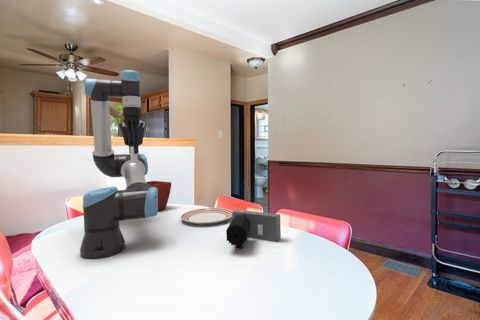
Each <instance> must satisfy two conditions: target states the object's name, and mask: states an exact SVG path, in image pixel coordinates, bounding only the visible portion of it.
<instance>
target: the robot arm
mask: <svg viewBox="0 0 480 320" xmlns="http://www.w3.org/2000/svg"><path fill="white" fill-rule="evenodd" d="M83 87H84V94H85V96H87V97H90V108H91V120H92V132H93V133H92V135H93V147H94V150H93V151H92V159H93V162H94V165H95V166H96V168H97V169H98V170H99V171H100V172H101V173H102V174H103V175H105V176H107V177H109V178H123V179H125V181H124V182H125V186H126V188H125V189H119V188H118V187H117V186H109V187H108V186H107V187H101V188H98V189H94V190H91V191H88V192H86V193H84V194H83V198H82V210H83V226H84V227H83V228H84V234H83V238H82V240H81V241H82V242H81V245H80V248H79V256H80V257H81V258H84V259H102V258H105V257H111V256H114V255H117V254H119V253H121V252H123V251H124V250H125V249H126V241H125V237H124V236H123V233H122V231H121V229H120V222H123V221H130V220H138V219H146V218H147V219H149V218H153V217H156V216H157V215H158V213H159V211H158V190H157V188H156V187H150V186H149V185H148V184H147V183H146V182H147V180H146V177H145V176H147V175H148V172H149V164H148V160H147V157H146V155H145V154H144V153H140V152H139V146H141V145H143V140H144V134H145V128H146V126H147V123H146V122H144V121H142V117H141V116H142V108H141V107H142V101H141V78H140V73H139V72H138V71H136V70H133V69H132V70H131V69H127V70H126V69H125V70H122V71H121V73H120V79H119V80H118V79H105V78H104V79H102V78H86V79H84V83H83ZM110 98H122V99H121V103H122V116H123V122H122V123H119V124H118V127H119V128H120V129H121V133H122V137H123V142H124V145H125V146H128V150H129V153H128V154H127V153H125V154H123V153H122V154H115V150H113V148H112V130H111V114H110V113H111V111H110V100H109V99H110Z"/></svg>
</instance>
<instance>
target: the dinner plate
mask: <svg viewBox="0 0 480 320" xmlns="http://www.w3.org/2000/svg"><path fill="white" fill-rule="evenodd" d="M233 211H234V210H231V209H228V208H224V207H223V208H222V207H205V208H204V207H203V208H197V209H196V208H195V209H191V210H188V211H186V212H184V213H182V214H181V215H180V219H181V220H182V221H184V222H186V223H190V224H195V225H204V226H207V225H215V224H219V223H222V222H224V221H227V220H229V219H231V218H232V212H233Z"/></svg>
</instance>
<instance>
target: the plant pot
mask: <svg viewBox="0 0 480 320" xmlns="http://www.w3.org/2000/svg"><path fill="white" fill-rule="evenodd" d="M146 183H147V184H148V185H149V186H150V187H156V188H157V190H158V212H159V211H160V212H161V211H165V210H166V208H167V206H168V201H169V198H170V195H171V190H172V182H171V181H161V180H152V181H151V180H149V181H146Z"/></svg>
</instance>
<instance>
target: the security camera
mask: <svg viewBox="0 0 480 320" xmlns="http://www.w3.org/2000/svg"><path fill="white" fill-rule="evenodd" d="M249 231H250V219H248V217H246V215H236V217H235V218H234V219H233V220H231V222H230V223H229V225H228V226H227V228H226V231H225V233H226V234H225V235H226V241H227V242H228V243H229V244H230V245H231V246H235V249H243V246H244V244H245V243H246V242H247V239H248V234H249Z"/></svg>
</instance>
